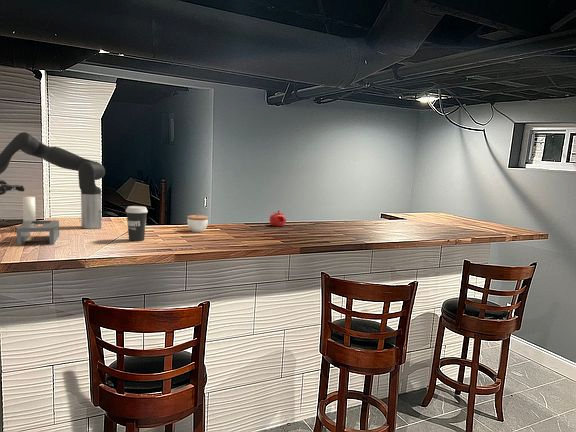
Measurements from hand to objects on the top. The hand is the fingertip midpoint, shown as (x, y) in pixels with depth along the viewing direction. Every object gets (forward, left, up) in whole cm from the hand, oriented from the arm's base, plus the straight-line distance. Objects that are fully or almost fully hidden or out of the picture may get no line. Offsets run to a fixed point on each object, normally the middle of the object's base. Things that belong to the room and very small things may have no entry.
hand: (14, 189), depth 205 cm
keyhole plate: (-14, +32, -19) cm, 39 cm away
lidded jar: (-84, +16, -19) cm, 88 cm away
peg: (-7, +9, -19) cm, 22 cm away
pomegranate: (-134, +2, -19) cm, 136 cm away
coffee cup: (-53, +36, -19) cm, 67 cm away
